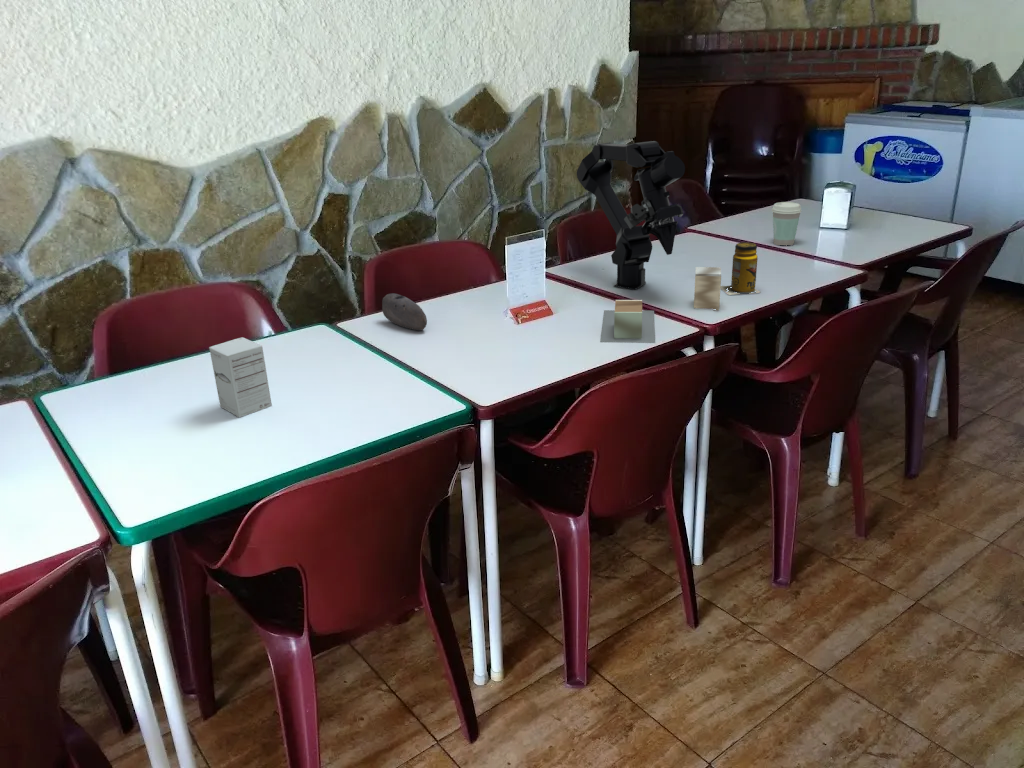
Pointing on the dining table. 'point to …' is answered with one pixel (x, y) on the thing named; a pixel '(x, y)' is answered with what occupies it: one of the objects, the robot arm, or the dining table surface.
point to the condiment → (743, 269)
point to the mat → (647, 337)
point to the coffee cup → (785, 222)
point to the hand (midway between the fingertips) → (669, 254)
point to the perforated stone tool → (403, 312)
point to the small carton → (628, 319)
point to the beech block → (707, 287)
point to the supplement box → (240, 376)
